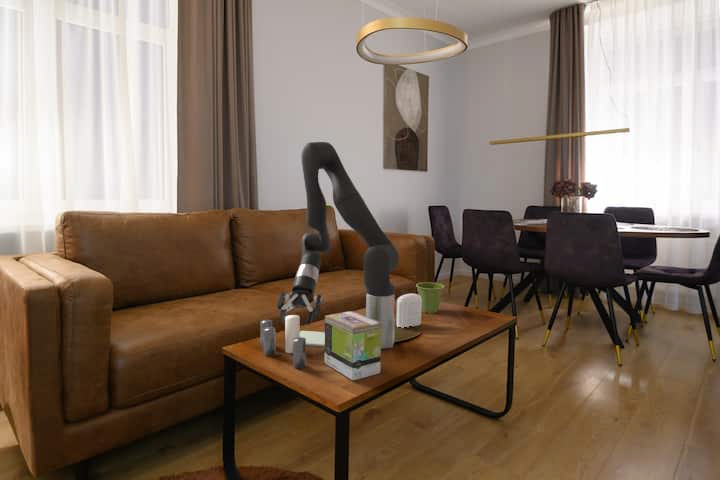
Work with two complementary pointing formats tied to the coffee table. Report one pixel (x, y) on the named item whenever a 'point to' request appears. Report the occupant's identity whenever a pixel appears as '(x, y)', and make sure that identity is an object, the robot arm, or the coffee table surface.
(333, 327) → the tea box
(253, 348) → the coffee table surface
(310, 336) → the mat
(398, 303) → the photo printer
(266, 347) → the posts
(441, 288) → the plant pot
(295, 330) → the cylinder
